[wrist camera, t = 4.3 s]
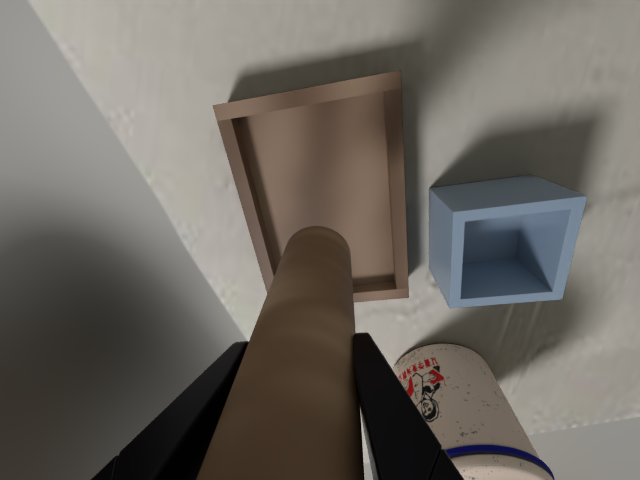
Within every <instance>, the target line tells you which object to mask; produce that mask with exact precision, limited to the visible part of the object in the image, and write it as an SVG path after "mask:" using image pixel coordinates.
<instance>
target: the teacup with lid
mask: <svg viewBox="0 0 640 480" xmlns="http://www.w3.org/2000/svg"><path fill="white" fill-rule="evenodd" d="M393 371H394V373H395V374H396V376H397V377H398V379H399V381H400V382H401V384H402V385H403V387H404V388H405V390H406V391H407V393H408V394H409V396H410V398H411V399H412V401H413V402H414V404H415V405H416V407H417V408H418V410H419V411H420V413H421V414H422V416H423V418H424V419H425V421H426V422H427V424H428V425H429V427H430V428H431V430H432V431H433V433H434V434H435V436H436V438H437V439H438V441H439V442H440V444H441V445H442V449H444V450H445V451H446V453H447V454H448V456H449V457H450V459H451V460H452V462H453V463H454V465H455V466H456V468H457V469H458V471H459V472H460V474H461V475H462V477H463V478H464V480H554V476H553V474H552V472H551V470H550V469H549V467H548V466H547V465H546V464H545V463H544V462H543V461H542V460H540V459H539V457H538V455H537V453H536V451H535V450H534V448H533V446H532V444H531V442H530V441H529V439H528V437H527V435H526V433H525V432H524V430H523V428H522V426H521V424H520V422H519V421H518V419H517V417H516V415H515V413H514V412H513V410H512V408H511V406H510V404H509V403H508V401H507V399H506V397H505V395H504V394H503V392H502V390H501V388H500V386H499V385H498V383H497V381H496V379H495V377H494V375H493V374H492V372H491V370H490V368H489V366H488V365H487V363H486V362H485V360H484V359H483V358H482V357H481V356H480V355H478V354H477V353H476V352H474V351H472V350H471V349H468V348H466V347H463V346H459V345H454V344H432V345H427V346H423V347H420V348H417V349H415V350H413V351H411V352H409V353H408V354H406V355H405V356H403V357H402V358H401V359H400V360H399V361H398V362H397V364H396V365H395V367H394V368H393Z"/></svg>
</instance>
